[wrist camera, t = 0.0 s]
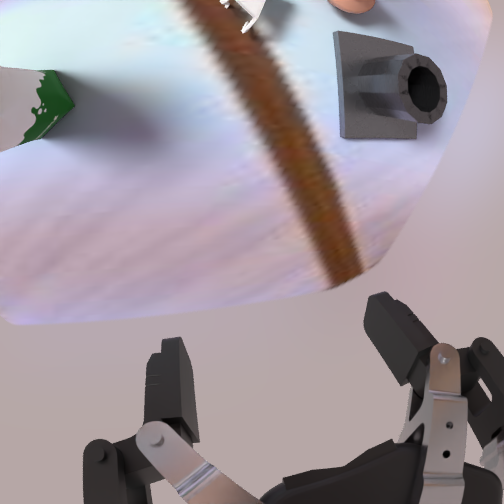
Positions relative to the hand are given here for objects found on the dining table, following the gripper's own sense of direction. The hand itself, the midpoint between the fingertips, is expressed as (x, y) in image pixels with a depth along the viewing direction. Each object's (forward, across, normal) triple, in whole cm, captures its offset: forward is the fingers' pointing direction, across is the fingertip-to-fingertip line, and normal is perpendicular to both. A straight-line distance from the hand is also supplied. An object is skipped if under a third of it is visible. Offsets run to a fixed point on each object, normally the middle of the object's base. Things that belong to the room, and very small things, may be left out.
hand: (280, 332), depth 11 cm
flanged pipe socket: (+29, -25, -11) cm, 40 cm away
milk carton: (+30, +22, -15) cm, 40 cm away
